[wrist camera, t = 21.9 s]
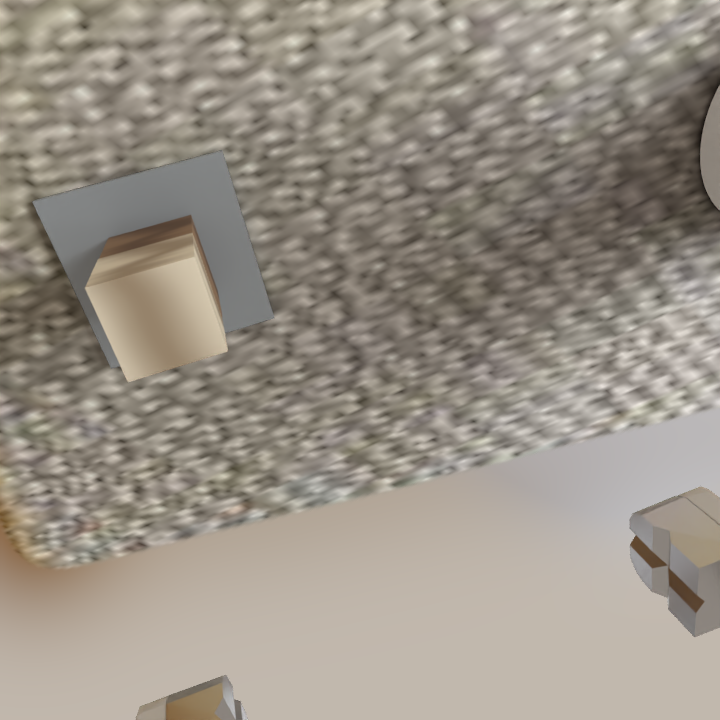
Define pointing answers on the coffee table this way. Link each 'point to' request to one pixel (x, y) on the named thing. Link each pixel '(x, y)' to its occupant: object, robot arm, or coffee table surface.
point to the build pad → (154, 206)
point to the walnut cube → (157, 235)
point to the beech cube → (157, 307)
